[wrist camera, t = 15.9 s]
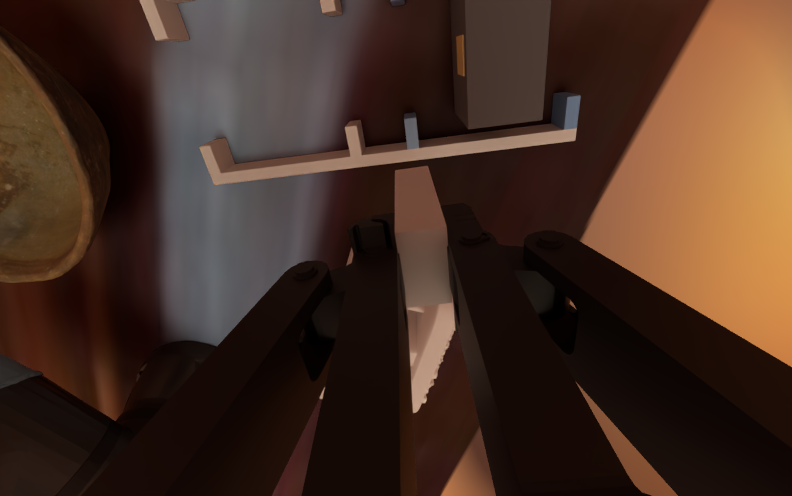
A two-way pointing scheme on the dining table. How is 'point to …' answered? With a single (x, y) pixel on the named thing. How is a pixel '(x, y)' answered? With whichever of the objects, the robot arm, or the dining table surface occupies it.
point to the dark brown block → (499, 60)
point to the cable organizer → (426, 344)
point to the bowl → (46, 168)
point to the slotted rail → (222, 168)
